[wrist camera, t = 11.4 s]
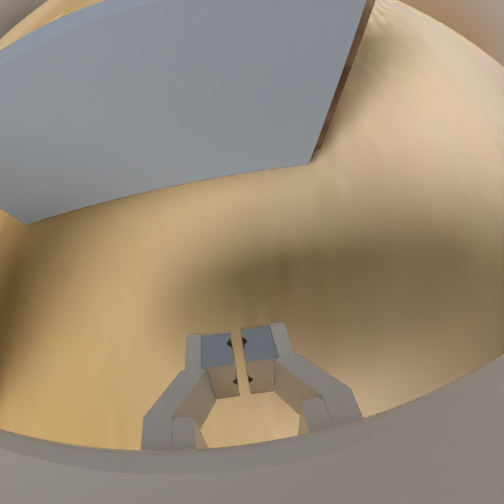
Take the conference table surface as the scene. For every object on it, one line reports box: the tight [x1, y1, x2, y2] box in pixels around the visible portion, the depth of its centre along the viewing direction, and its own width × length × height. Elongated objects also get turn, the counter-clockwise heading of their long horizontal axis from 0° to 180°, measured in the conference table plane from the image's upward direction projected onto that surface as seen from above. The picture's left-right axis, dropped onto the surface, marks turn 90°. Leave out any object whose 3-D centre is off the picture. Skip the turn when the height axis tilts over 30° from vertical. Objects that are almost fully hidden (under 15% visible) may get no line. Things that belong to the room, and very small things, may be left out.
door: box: [0, 0, 367, 225], centre depth 12 cm, size 2×20×12 cm, turn 102°
